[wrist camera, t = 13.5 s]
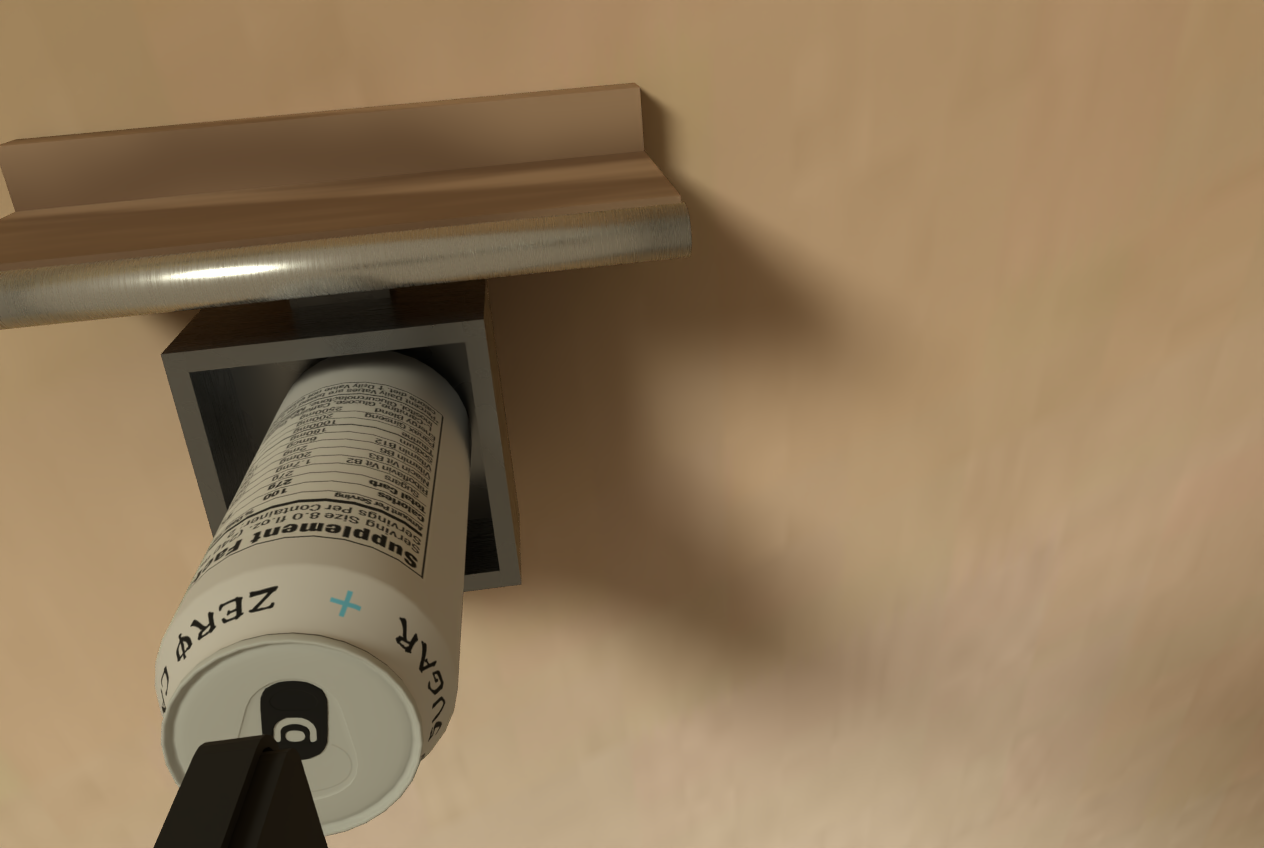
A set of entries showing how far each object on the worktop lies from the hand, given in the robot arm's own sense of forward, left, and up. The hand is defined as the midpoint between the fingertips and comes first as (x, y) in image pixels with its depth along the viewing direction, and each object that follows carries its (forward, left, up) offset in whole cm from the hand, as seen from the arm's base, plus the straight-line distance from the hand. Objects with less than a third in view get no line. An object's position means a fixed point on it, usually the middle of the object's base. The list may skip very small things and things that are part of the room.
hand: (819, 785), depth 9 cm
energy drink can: (+3, +9, -24) cm, 26 cm away
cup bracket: (+5, +7, -28) cm, 30 cm away
